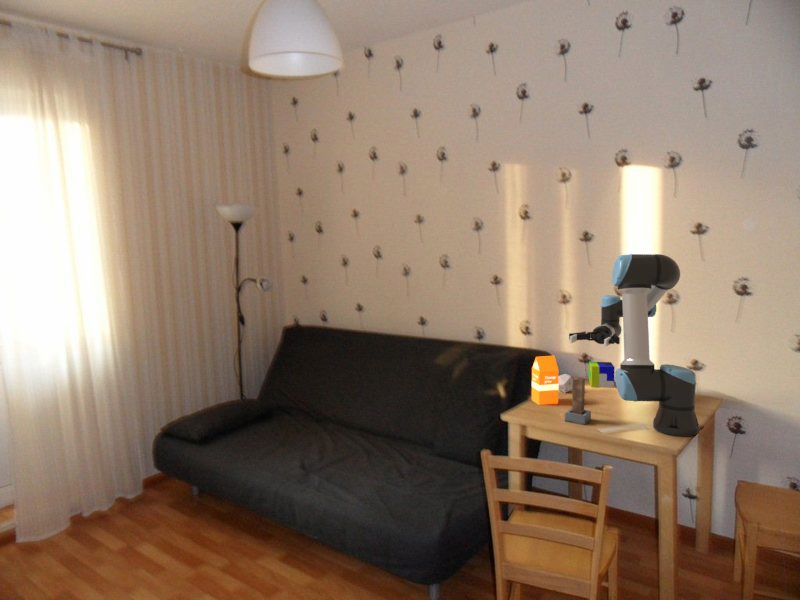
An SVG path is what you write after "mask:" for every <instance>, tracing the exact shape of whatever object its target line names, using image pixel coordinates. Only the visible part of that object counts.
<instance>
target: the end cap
mask: <svg viewBox="0 0 800 600" xmlns="http://www.w3.org/2000/svg"><path fill="white" fill-rule="evenodd" d="M591 420H592V410H589V409H584V414H583V415H581V414H575V413H572V407H571V408H569V409H568V410H567V411H565V413H564V421H565V422H567V423H571V424H577V425H582V426H585V425H586V424H587V423H589V422H590V421H591Z"/></svg>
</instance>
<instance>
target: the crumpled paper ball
mask: <svg viewBox="0 0 800 600" xmlns="http://www.w3.org/2000/svg"><path fill="white" fill-rule="evenodd" d="M573 379H574V377H572V376H571V375H569V374H567V373H564V374H560V375H558V391H560V392H562V393H563V392H564V393H563V394H566V392H567V393H569V391H570V392H572V391H573Z"/></svg>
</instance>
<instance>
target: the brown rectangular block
mask: <svg viewBox="0 0 800 600" xmlns="http://www.w3.org/2000/svg"><path fill="white" fill-rule="evenodd" d="M585 381H586V378H585V377H573V389H572V398H571V399H572V403H571V408H572V413H575V414H581V415H583V414H584V410H585V393H586V390H585V389H586V387H585V386H586V382H585Z"/></svg>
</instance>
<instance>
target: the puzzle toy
mask: <svg viewBox="0 0 800 600" xmlns="http://www.w3.org/2000/svg"><path fill="white" fill-rule="evenodd" d="M588 370H589V371H588V382H589V385H590V387H591V388H601V387H603V388H604V389H605V388H606V389H607V388H608V389H614V388H615V365H613V363H612V362H611V361H610V362H609V361H589V362H588ZM603 388H602V389H603Z"/></svg>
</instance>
